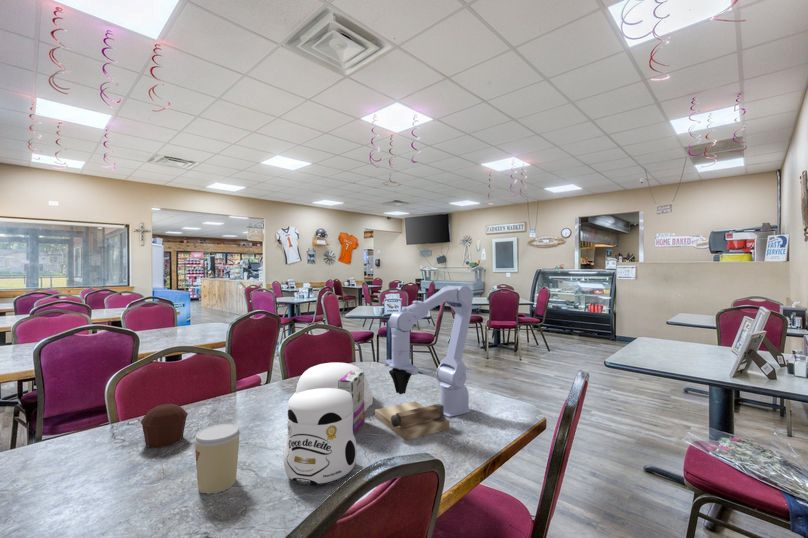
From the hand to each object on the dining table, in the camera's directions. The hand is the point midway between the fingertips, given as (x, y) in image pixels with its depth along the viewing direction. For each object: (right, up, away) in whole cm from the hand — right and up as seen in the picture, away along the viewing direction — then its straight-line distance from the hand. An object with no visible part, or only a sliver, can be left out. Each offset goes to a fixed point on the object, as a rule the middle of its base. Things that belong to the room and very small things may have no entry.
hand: (400, 392), depth 115 cm
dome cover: (-26, -11, +21) cm, 35 cm away
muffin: (-68, -11, -10) cm, 70 cm away
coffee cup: (-42, -10, -32) cm, 53 cm away
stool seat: (+3, -10, +2) cm, 11 cm away
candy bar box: (-15, -11, -2) cm, 19 cm away
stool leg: (+6, -7, -4) cm, 10 cm away
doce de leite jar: (-19, -10, -27) cm, 35 cm away
